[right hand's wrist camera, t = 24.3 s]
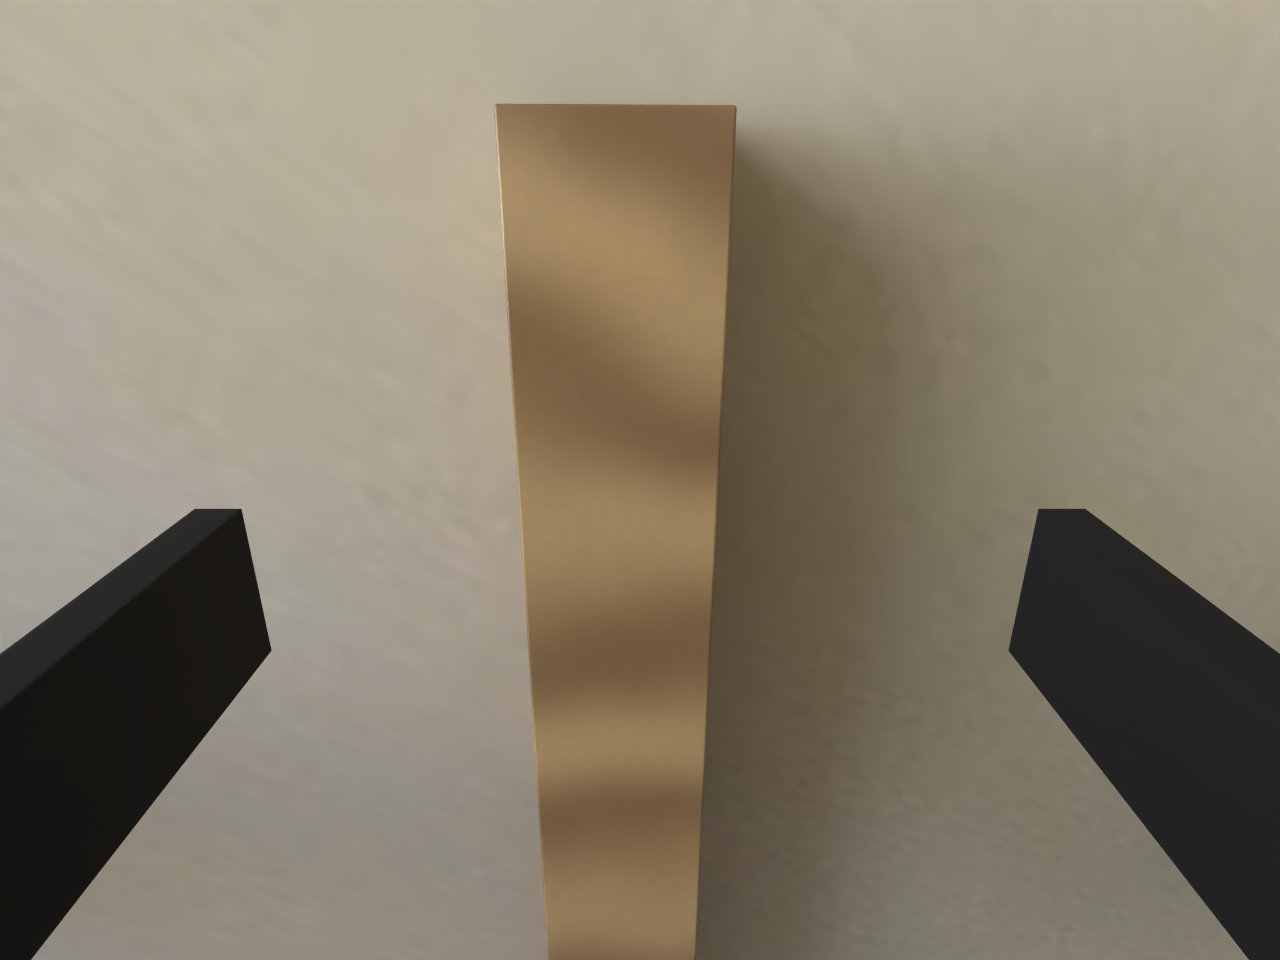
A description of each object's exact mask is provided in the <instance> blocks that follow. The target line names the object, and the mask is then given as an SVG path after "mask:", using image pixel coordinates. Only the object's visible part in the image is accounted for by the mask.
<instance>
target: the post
mask: <svg viewBox="0 0 1280 960" xmlns="http://www.w3.org/2000/svg"><path fill="white" fill-rule="evenodd" d="M736 110H737V109H736V106H734V105H605V104H496V105H495V106H494V111H495V127H496V143H497V159H498V175H499V190H500V206H501V222H502V238H503V254H504V269H505V285H506V301H507V317H508V333H509V348H510V364H511V380H512V396H513V412H514V428H515V443H516V459H517V475H518V491H519V507H520V522H521V538H522V554H523V570H524V586H525V601H526V617H527V633H528V649H529V665H530V681H531V696H532V712H533V728H534V744H535V760H536V775H537V791H538V807H539V823H540V839H541V854H542V870H543V886H544V902H545V918H546V934H547V949H548V960H695V953H696V932H697V912H698V891H699V870H700V850H701V829H702V809H703V788H704V768H705V747H706V727H707V706H708V686H709V665H710V644H711V624H712V603H713V583H714V562H715V542H716V521H717V501H718V480H719V460H720V439H721V418H722V398H723V377H724V357H725V336H726V316H727V295H728V275H729V254H730V234H731V213H732V192H733V172H734V151H735V131H736Z"/></svg>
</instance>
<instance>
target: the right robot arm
mask: <svg viewBox="0 0 1280 960" xmlns="http://www.w3.org/2000/svg"><path fill="white" fill-rule="evenodd" d="M270 652H271V646H270V641H269V637H268V632H267V627H266V622H265V618H264V613H263V608H262V604H261V599H260V594H259V590H258V585H257V580H256V575H255V571H254V566H253V561H252V557H251V552H250V547H249V543H248V538H247V533H246V528H245V524H244V519H243V514H242V510H241V509H194V510H193V511H191V512H190V513H189V514H187V515H186V516H185V517H183V518H182V519H181V520H179V521H178V522H177V523H175V524H174V525H173V526H171V527H170V528H169V529H167V530H166V531H165V532H163V533H162V534H161V535H159V536H158V537H157V538H155V539H154V540H153V541H151V542H150V543H149V544H147V545H146V546H144V547H143V548H142V549H140V550H139V551H138V552H136V553H135V554H134V555H132V556H131V557H130V558H128V559H127V560H126V561H124V562H123V563H122V564H120V565H119V566H118V567H116V568H115V569H114V570H112V571H111V572H110V573H108V574H107V575H106V576H104V577H103V578H102V579H100V580H99V581H98V582H96V583H95V584H94V585H92V586H91V587H90V588H88V589H87V590H85V591H84V592H83V593H81V594H80V595H79V596H77V597H76V598H75V599H73V600H72V601H71V602H69V603H68V604H67V605H65V606H64V607H63V608H61V609H60V610H59V611H57V612H56V613H55V614H53V615H52V616H51V617H49V618H48V619H47V620H45V621H44V622H43V623H41V624H40V625H39V626H37V627H36V628H35V629H33V630H32V631H30V632H29V633H28V634H26V635H25V636H24V637H22V638H21V639H20V640H18V641H17V642H16V643H14V644H13V645H12V646H10V647H9V648H8V649H6V650H5V651H4V652H2V653H1V654H0V960H31V959H32V958H33V956H34V955H35V954H36V953H37V951H38V950H39V949H40V947H41V946H42V945H43V944H44V942H45V941H46V940H47V938H48V937H49V936H50V935H51V933H52V932H53V931H54V929H55V928H56V927H57V926H58V924H59V923H60V922H61V920H62V919H63V918H64V917H65V915H66V914H67V913H68V911H69V910H70V909H71V908H72V906H73V905H74V904H75V902H76V901H77V900H78V899H79V897H80V896H81V895H82V893H83V892H84V891H85V890H86V888H87V887H88V886H89V884H90V883H91V882H92V881H93V879H94V878H95V877H96V875H97V874H98V873H99V872H100V870H101V869H102V868H103V866H104V865H105V864H106V863H107V861H108V860H109V859H110V857H111V856H112V855H113V854H114V852H115V851H116V850H117V848H118V847H119V846H120V845H121V843H122V842H123V841H124V839H125V838H126V837H127V836H128V834H129V833H130V832H131V830H132V829H133V828H134V827H135V825H136V824H137V823H138V821H139V820H140V819H141V818H142V816H143V815H144V814H145V812H146V811H147V810H148V809H149V807H150V806H151V805H152V803H153V802H154V801H155V800H156V798H157V797H158V796H159V794H160V793H161V792H162V791H163V789H164V788H165V787H166V785H167V784H168V783H169V782H170V780H171V779H172V778H173V776H174V775H175V774H176V773H177V771H178V770H179V769H180V767H181V766H182V765H183V764H184V762H185V761H186V760H187V758H188V757H189V756H190V755H191V753H192V752H193V751H194V749H195V748H196V747H197V746H198V744H199V743H200V742H201V741H202V739H203V738H204V737H205V735H206V734H207V733H208V732H209V730H210V729H211V728H212V726H213V725H214V724H215V723H216V721H217V720H218V719H219V717H220V716H221V715H222V714H223V712H224V711H225V710H226V708H227V707H228V706H229V705H230V703H231V702H232V701H233V699H234V698H235V697H236V696H237V694H238V693H239V692H240V690H241V689H242V688H243V687H244V685H245V684H246V683H247V681H248V680H249V679H250V678H251V676H252V675H253V674H254V672H255V671H256V670H257V669H258V667H259V666H260V665H261V663H262V662H263V661H264V660H265V658H266V657H267V656H268V654H269V653H270ZM1009 652H1010V653H1011V654H1012V656H1013V657H1014V658H1015V660H1016V661H1017V662H1018V663H1019V665H1020V666H1021V667H1022V669H1023V670H1024V671H1025V672H1026V674H1027V675H1028V676H1029V678H1030V679H1031V680H1032V681H1033V683H1034V684H1035V685H1036V687H1037V688H1038V689H1039V690H1040V692H1041V693H1042V694H1043V696H1044V697H1045V698H1046V699H1047V701H1048V702H1049V703H1050V705H1051V706H1052V707H1053V708H1054V710H1055V711H1056V712H1057V714H1058V715H1059V716H1060V717H1061V719H1062V720H1063V721H1064V723H1065V724H1066V725H1067V726H1068V728H1069V729H1070V730H1071V732H1072V733H1073V734H1074V735H1075V737H1076V738H1077V739H1078V741H1079V742H1080V743H1081V744H1082V746H1083V747H1084V748H1085V749H1086V751H1087V752H1088V753H1089V755H1090V756H1091V757H1092V758H1093V760H1094V761H1095V762H1096V764H1097V765H1098V766H1099V767H1100V769H1101V770H1102V771H1103V773H1104V774H1105V775H1106V776H1107V778H1108V779H1109V780H1110V782H1111V783H1112V784H1113V785H1114V787H1115V788H1116V789H1117V791H1118V792H1119V793H1120V794H1121V796H1122V797H1123V798H1124V800H1125V801H1126V802H1127V803H1128V805H1129V806H1130V807H1131V809H1132V810H1133V811H1134V812H1135V814H1136V815H1137V816H1138V818H1139V819H1140V820H1141V821H1142V823H1143V824H1144V825H1145V827H1146V828H1147V829H1148V830H1149V832H1150V833H1151V834H1152V836H1153V837H1154V838H1155V839H1156V841H1157V842H1158V843H1159V845H1160V846H1161V847H1162V848H1163V850H1164V851H1165V852H1166V854H1167V855H1168V856H1169V857H1170V859H1171V860H1172V861H1173V863H1174V864H1175V865H1176V866H1177V868H1178V869H1179V870H1180V872H1181V873H1182V874H1183V875H1184V877H1185V878H1186V879H1187V881H1188V882H1189V883H1190V884H1191V886H1192V887H1193V888H1194V890H1195V891H1196V892H1197V893H1198V895H1199V896H1200V897H1201V899H1202V900H1203V901H1204V902H1205V904H1206V905H1207V906H1208V908H1209V909H1210V910H1211V911H1212V913H1213V914H1214V915H1215V917H1216V918H1217V919H1218V920H1219V922H1220V923H1221V924H1222V926H1223V927H1224V928H1225V929H1226V931H1227V932H1228V933H1229V935H1230V936H1231V937H1232V938H1233V940H1234V941H1235V942H1236V944H1237V945H1238V946H1239V947H1240V949H1241V950H1242V951H1243V953H1244V954H1245V955H1246V956H1247V958H1248V959H1249V960H1280V654H1279V653H1278V652H1276V651H1275V650H1274V649H1272V648H1271V647H1270V646H1268V645H1267V644H1266V643H1264V642H1263V641H1262V640H1260V639H1259V638H1258V637H1256V636H1255V635H1254V634H1252V633H1251V632H1250V631H1248V630H1247V629H1245V628H1244V627H1243V626H1241V625H1240V624H1239V623H1237V622H1236V621H1235V620H1233V619H1232V618H1231V617H1229V616H1228V615H1227V614H1225V613H1224V612H1223V611H1221V610H1220V609H1219V608H1217V607H1216V606H1215V605H1213V604H1212V603H1211V602H1209V601H1208V600H1207V599H1205V598H1204V597H1203V596H1201V595H1200V594H1199V593H1197V592H1196V591H1195V590H1193V589H1192V588H1190V587H1189V586H1188V585H1186V584H1185V583H1184V582H1182V581H1181V580H1180V579H1178V578H1177V577H1176V576H1174V575H1173V574H1172V573H1170V572H1169V571H1168V570H1166V569H1165V568H1164V567H1162V566H1161V565H1160V564H1158V563H1157V562H1156V561H1154V560H1153V559H1152V558H1150V557H1149V556H1148V555H1146V554H1145V553H1144V552H1142V551H1141V550H1140V549H1138V548H1137V547H1136V546H1134V545H1133V544H1131V543H1130V542H1129V541H1127V540H1126V539H1125V538H1123V537H1122V536H1121V535H1119V534H1118V533H1117V532H1115V531H1114V530H1113V529H1111V528H1110V527H1109V526H1107V525H1106V524H1105V523H1103V522H1102V521H1101V520H1099V519H1098V518H1097V517H1095V516H1094V515H1093V514H1091V513H1090V512H1089V511H1087V510H1086V509H1039V510H1038V514H1037V519H1036V524H1035V528H1034V533H1033V538H1032V543H1031V547H1030V552H1029V557H1028V561H1027V566H1026V571H1025V575H1024V580H1023V585H1022V590H1021V594H1020V599H1019V604H1018V608H1017V613H1016V618H1015V622H1014V627H1013V632H1012V637H1011V641H1010V646H1009Z"/></svg>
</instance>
